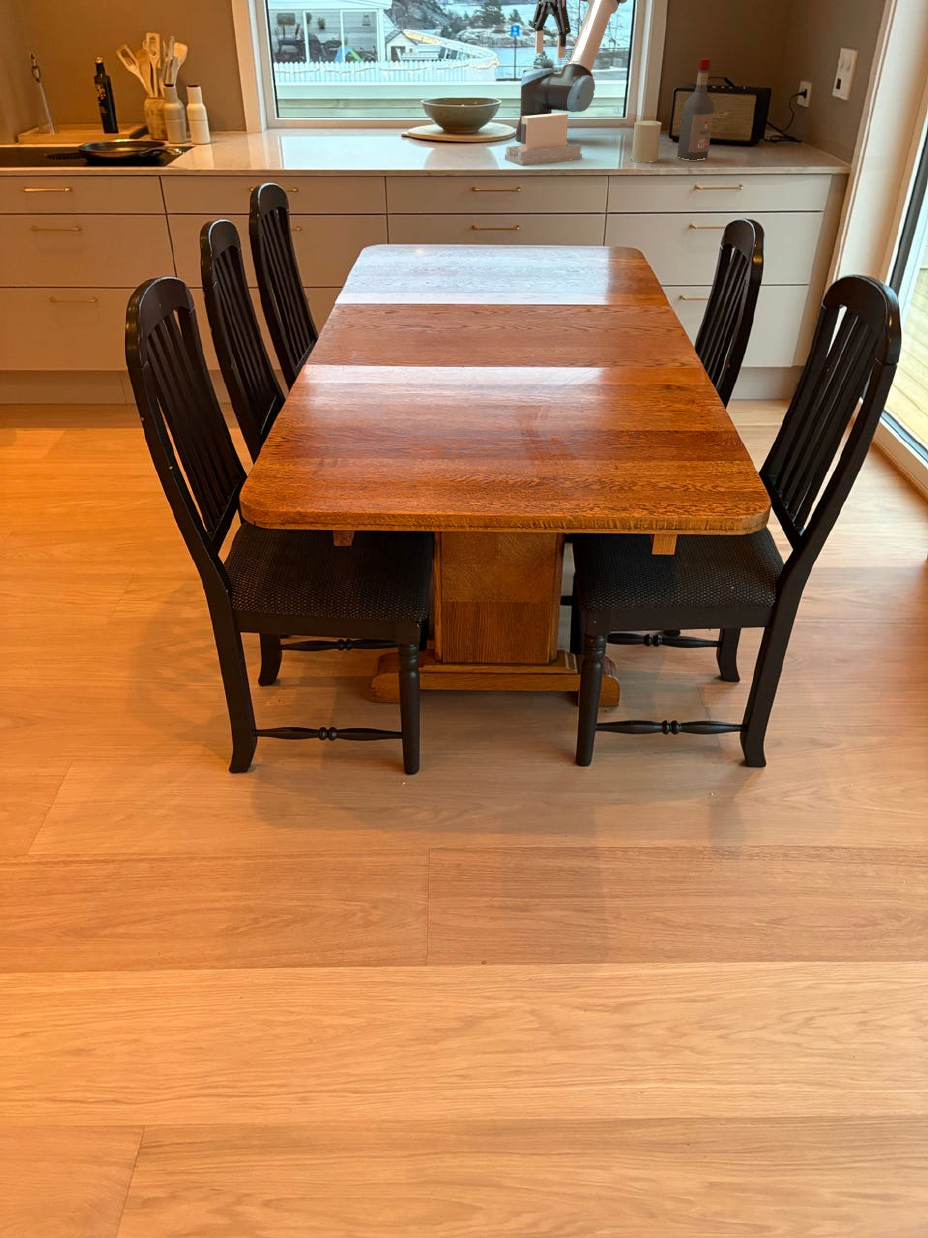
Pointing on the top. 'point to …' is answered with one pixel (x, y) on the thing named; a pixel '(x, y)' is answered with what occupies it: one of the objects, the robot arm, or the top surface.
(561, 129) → the door panel
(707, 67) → the liquor
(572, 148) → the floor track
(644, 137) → the can
